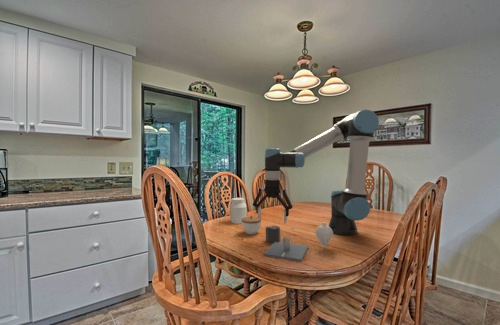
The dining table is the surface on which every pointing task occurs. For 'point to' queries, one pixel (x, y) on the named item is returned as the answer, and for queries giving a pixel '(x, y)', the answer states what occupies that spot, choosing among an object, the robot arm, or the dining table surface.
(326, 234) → the spinning top
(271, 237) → the knob
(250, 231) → the lidded jar
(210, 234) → the dining table surface
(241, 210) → the jar
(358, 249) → the dining table surface
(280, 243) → the shaft plate
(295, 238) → the dining table surface
